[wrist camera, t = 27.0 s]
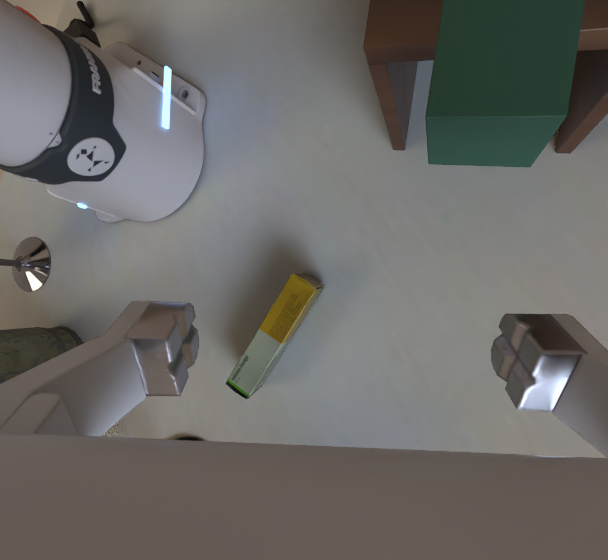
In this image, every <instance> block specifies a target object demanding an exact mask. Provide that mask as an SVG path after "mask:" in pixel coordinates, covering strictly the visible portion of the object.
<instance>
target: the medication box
mask: <svg viewBox="0 0 608 560" xmlns="http://www.w3.org/2000/svg"><path fill="white" fill-rule="evenodd" d="M323 288H324V285H323V284H321V283H320V282H319V281H317V280H316V279H314V278H313V277H311V276H309V275H307V274H305V273H295V274H291V276H290V278H289V279H288V281H287V282H286V284H285V286H284V287H283V289H282V291H281V292H280V294H279V296H278V297H277V299H276V301H275V302H274V304H273V306H272V307H271V309H270V310H269V312H268V314H267V315H266V317H265V319H264V320H263V322H262V324H261V325H260V327H259V329H258V330H257V332H256V334H255V335H254V337H253V339H252V340H251V342H250V344H249V345H248V347H247V348H246V350H245V352H244V353H243V355H242V357H241V358H240V360H239V362H238V363H237V365H236V367H235V368H234V370H233V371H232V373H231V375H230V377H229V378H228V380H227V382H226V385H228V386H229V387H230V388H231V389H232V390H233V391H235V392H236V393H238V394H239V395H240V396H242V397H244V398H245V399H248V398H249V397H250V396H252V395H253V394H254V393H255V392H256V391H257V390H258V389H259V388H260V387H261V386H262V385H263V383H264V381H265V380H266V378H267V377H268V375H269V374H270V372H271V371H272V369H273V367H274V366H275V364H276V363H277V361H278V360H279V358H280V356H281V355H282V353H283V352H284V350H285V349H286V347H287V345H288V344H289V342H290V340H291V339H292V337H293V336H294V334H295V333H296V331H297V329H298V328H299V326H300V325H301V323H302V321H303V320H304V318H305V317H306V315H307V314H308V312H309V310H310V309H311V307H312V306H313V304H314V302H315V301H316V299H317V298H318V296H319V294H320V293H321V291H322V290H323Z"/></svg>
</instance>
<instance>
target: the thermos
mask: <svg viewBox="0 0 608 560" xmlns="http://www.w3.org/2000/svg"><path fill="white" fill-rule="evenodd" d="M81 344H82V341H81V339H80V338H79V337H78V336H77V335H76V333H75V332H74V331H72V330H70V329H68V328H65V327H54V328H40V327H35V328H22V329H9V330H0V384H1V383H3V382H5V381H7V380H9V379H11V378H14V377H16V376H18V375H20V374H22V373H24V372H26V371H28V370H30V369H32V368H34V367H36V366H38V365H40V364H42V363H44V362H46V361H48V360H50V359H53V358H55V357H57V356H59V355H61V354H63V353H65V352H67V351H69V350H71V349H73V348H75V347H77V346H79V345H81Z"/></svg>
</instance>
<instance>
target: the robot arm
mask: <svg viewBox="0 0 608 560" xmlns="http://www.w3.org/2000/svg"><path fill="white" fill-rule="evenodd" d="M77 5H78V7H79V9H80V11H81V13H82V15H83V17H84V19H85V21H86V22H85V21H83V20H80V19H73V20H72V21H71V22H70V25H69V27H68V28H67V29H66V30H65V31H64V32H62V31H60V30H57V29H55V28H54V27H52V26H49V25H45V24H41V23H40V22H39V21H38V20H37V19H36V18H35V17H34V16H33V15H31V14H30V13H29V12H27V11H26V10H24V9H23V8H21V7H18V6H16V7H15V6H13V5H12V4H10V3H9V2H7V1H6V0H0V169H2V170H4V171H7V172H10V173H13V174H14V175H16V176H18V177H21V178H24V179H27V180H31V181H38V182H42V183H43V184H44V186H45V187H46V188H47V192H49V193H50V194H51V195H53V196H56V197H59V198H61V199H64V200H67V201H70V202H73V203H75V204H78V206H79V207H81V208H85V209H86V208H90V209H93V210H94V212H95V214H96V216H97V218H98V219H99V220H101V221H104V222H106V223H114V222H118V221H121V220H124V219H129V220H134V221H139V222H151V221H156V220H159V219H162V218H164V217H166V216H168V215H170V214H171V213H173V212H174V211H175V210H177V209H178V208H179V207H180V206H181V205H182V204H183V203H184V202H185V201H186V199H187V198H188V197H189V195H190V194H191V192H192V191H193V189H194V187H195V185H196V183H197V181H198V178H199V176H200V172H201V169H202V164H203V158H204V140H203V132H202V120H203V115H204V111H205V104H206V98H205V95H204V93H203V92H202V91H200V90H199V89H197V88H195V87H194V86H192V85H191V84H189V83H187V82H186V81H184V80H182V79H181V78H179V77H178V76H176V75H174V74H173V73H171V69H170V68H169V67H167V66H165V67H164V68H163V67H161V66H160V65H158V64H156V63H155V62H153V61H151V60H150V59H148V58H146V57H145V56H143V55H142V54H140V53H138V52H137V51H135V50H133V49H132V48H130V47H128V46H127V45H125V44H123V43H121V42H117V43H115V44H113V45H111V46H109V47H108V48H106V49H105V50H102V49H101V48H100V47H101V46H100V43H99V41H98V38H97V36H96V33H95V32H93V31H92V30H91V29H92V28H93V22H92V19H91V17H90V15H89V13H88V11H87V10H86V8H85V6H84V4H83V2H81V1H78V2H77ZM187 94H188V95H187ZM186 96H187V97H186ZM194 318H195V312H194V307H193V305H192V304H191V303H181V302H162V301H132V302H131V303H130V304H129V305H128V306H127V308H126V309H125V310H124V311H123V312H122V314H121V315H120V316H119V317H118V319H117V320H116V321H115V322H114V323H113V325H112V326H111V327H110V328H109V330H108V331H107V332H106V333H105V335H104V336H103V337H96V338H94V339H92V340H89V341H87V342H85V343H83V344H81V345H79V346H77V347H75V348H73V349H71V350H69V351H67V352H65V353H63V354H61V355H59V356H57V357H55V358H53V359H50V360H48V361H46V362H44V363H42V364H40V365H38V366H36V367H34V368H32V369H30V370H28V371H26V372H24V373H22V374H20V375H18V376H16V377H14V378H11V379H9V380H7V381H5V382H3V383H1V384H0V560H608V350H607V349H606V348H605V347H603V346H602V345H601V344H600V343H599V342H598V341H597V340H596V339H595V338H594V337H593V336H592V335H591V334H590V333H589V332H588V331H587V330H586V329H585V328H584V327H583V326H582V325H581V324H580V323H579V322H578V321H577V320H576V319H575V318H574V317H573V316H570V315H568V314H505V315H504V316H503V318H502V319H501V322H500V325H499V328H500V330H501V332H502V334H501V335H500V336H499V337H497V338H496V339H495V340H494V342H493V346H492V349H491V361H492V365H493V368H494V370H495V372H496V374H497V376H499V377H500V378H502V379H503V380H505V381H506V382H507V385H506V387H505V390H506V391H507V393H508V395H509V397H510V398H511V400H512V402H513V403H514V405H515V407H516V409H517V410H532V411H547V412H553V414H554V415H555V416H556V417H558V418H559V419H560V420H561V421H563V422H564V423H565V424H566V425H568V426H569V427H570V428H571V429H573V430H574V431H575V432H576V433H577V434H579V435H580V436H581V437H582V438H584V439H585V440H586V441H587V442H589V443H590V444H591V445H592V446H594V447H595V448H596V449H597V450H598V451H600V452H601V453H602V454H603V455H605V456H606V457H607V458H586V457H561V456H539V455H516V454H494V453H472V452H450V451H427V450H403V449H379V448H356V447H332V446H308V445H284V444H260V443H237V442H213V441H190V440H166V439H143V438H119V437H100V436H101V435H103V434H104V433H105V432H106V431H107V430H109V429H110V428H111V427H112V426H113V425H115V424H116V423H117V422H118V421H119V420H120V419H122V418H123V417H124V416H125V415H126V414H128V413H129V412H130V411H131V410H132V409H134V408H135V407H136V406H137V405H138V404H140V403H141V402H142V401H143V400H144V399H145V398H146V396H180V395H181V393H182V391H183V389H184V386H185V384H186V382H187V379H188V377H189V376H188V371H187V369H188V368H189V367H191V366H192V365H194V363H195V360H196V358H197V354H198V348H199V336H198V330H197V329H196V328H195V327H194V326H193V325H192V323H193V320H194Z"/></svg>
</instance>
